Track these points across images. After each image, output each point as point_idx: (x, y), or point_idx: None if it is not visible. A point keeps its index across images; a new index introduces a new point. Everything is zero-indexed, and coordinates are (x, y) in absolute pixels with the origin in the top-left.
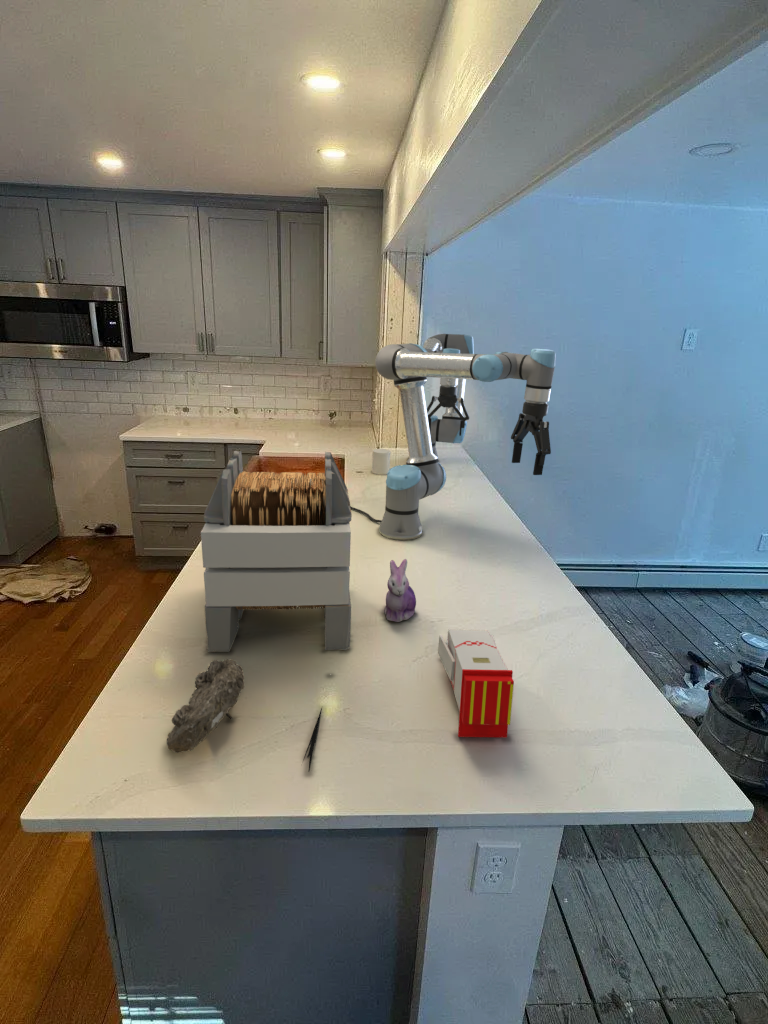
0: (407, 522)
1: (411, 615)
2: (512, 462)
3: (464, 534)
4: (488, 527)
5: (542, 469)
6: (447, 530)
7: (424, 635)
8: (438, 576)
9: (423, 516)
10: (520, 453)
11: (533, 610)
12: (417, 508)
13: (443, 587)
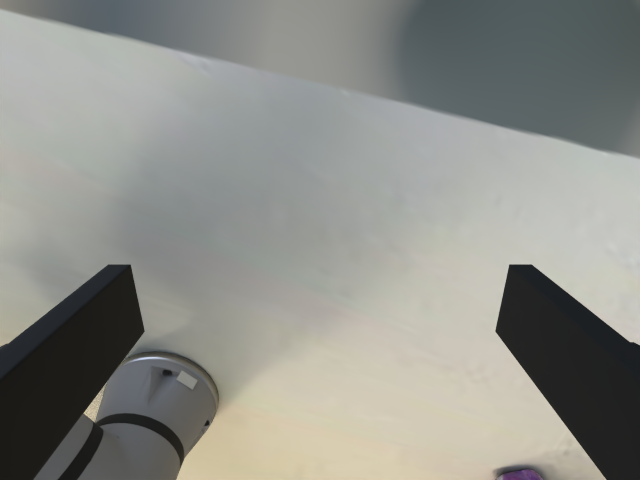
0: (194, 430)
1: (541, 477)
2: (138, 333)
3: (185, 253)
4: (126, 153)
5: (562, 292)
6: (153, 286)
7: (595, 472)
8: (415, 394)
9: (40, 309)
10: (72, 327)
11: (630, 286)
12: (156, 432)
13: (463, 401)
